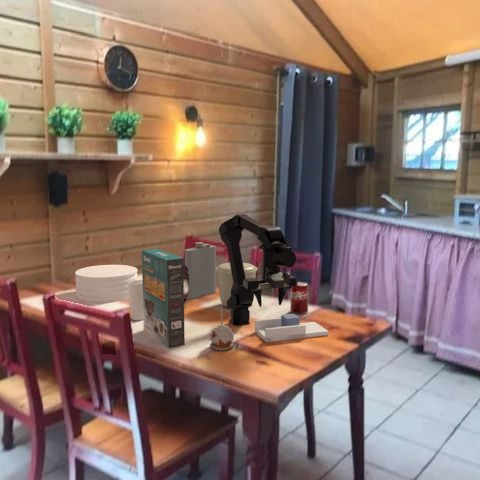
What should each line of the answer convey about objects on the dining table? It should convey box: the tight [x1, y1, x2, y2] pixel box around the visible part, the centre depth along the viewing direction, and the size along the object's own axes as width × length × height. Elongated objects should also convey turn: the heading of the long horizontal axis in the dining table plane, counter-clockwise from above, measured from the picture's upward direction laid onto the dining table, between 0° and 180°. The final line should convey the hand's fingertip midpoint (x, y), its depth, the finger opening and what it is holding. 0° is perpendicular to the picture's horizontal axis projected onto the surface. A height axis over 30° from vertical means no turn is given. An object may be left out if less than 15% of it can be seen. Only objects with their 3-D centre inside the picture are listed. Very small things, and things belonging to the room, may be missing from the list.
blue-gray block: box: [281, 313, 301, 327], centre depth 186 cm, size 5×5×5 cm
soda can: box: [290, 281, 310, 315], centre depth 213 cm, size 7×7×12 cm
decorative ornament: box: [209, 303, 235, 351], centre depth 172 cm, size 8×8×15 cm
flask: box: [184, 241, 217, 300], centre depth 237 cm, size 17×5×25 cm, turn 137°
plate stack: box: [74, 264, 138, 303], centre depth 240 cm, size 28×28×12 cm
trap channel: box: [254, 317, 329, 343], centre depth 187 cm, size 24×11×4 cm, turn 108°
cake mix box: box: [141, 248, 186, 349], centre depth 180 cm, size 22×6×30 cm, turn 32°
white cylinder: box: [128, 279, 144, 322], centre depth 202 cm, size 7×7×15 cm
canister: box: [215, 262, 258, 308], centre depth 221 cm, size 18×18×21 cm
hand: (270, 305), depth 183 cm, fingers open, 7 cm apart
